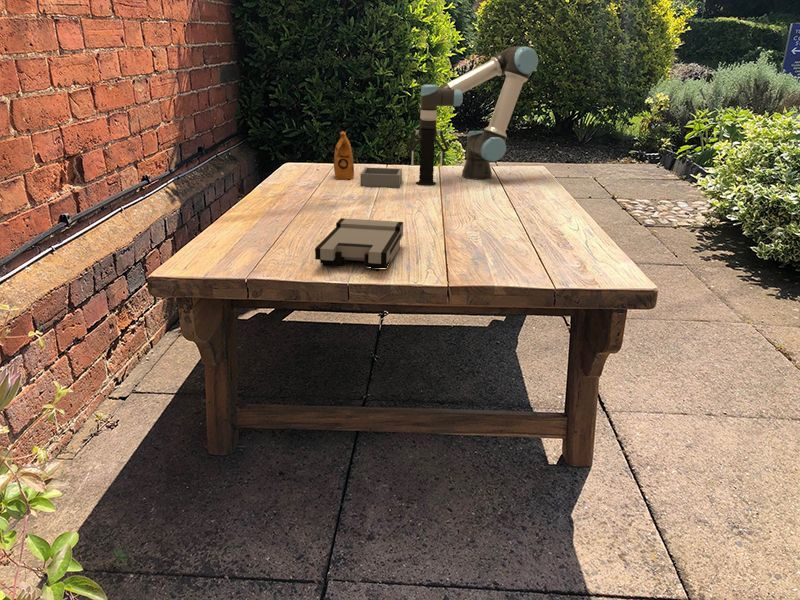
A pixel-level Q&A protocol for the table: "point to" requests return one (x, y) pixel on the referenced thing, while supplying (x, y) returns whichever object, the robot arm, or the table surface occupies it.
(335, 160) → the coffee package
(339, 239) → the office tray
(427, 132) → the black upright pillar
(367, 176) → the box
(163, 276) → the table surface
